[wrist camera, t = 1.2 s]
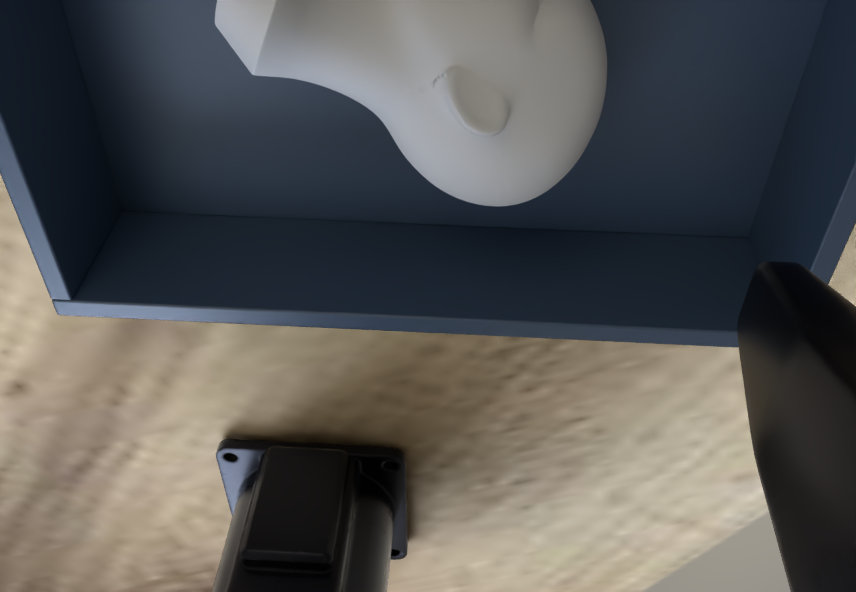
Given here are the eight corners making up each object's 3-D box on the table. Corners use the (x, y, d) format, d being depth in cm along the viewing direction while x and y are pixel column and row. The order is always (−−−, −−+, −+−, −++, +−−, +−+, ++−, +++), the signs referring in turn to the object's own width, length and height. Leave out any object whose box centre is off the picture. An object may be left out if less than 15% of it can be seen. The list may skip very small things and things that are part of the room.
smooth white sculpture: (627, 10, 18) (494, 196, 20) (312, -234, 15) (186, 8, 17) (713, 49, 14) (538, 275, 16) (315, -265, 11) (153, 50, 13)
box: (756, 241, 21) (799, 351, 18) (115, 214, 22) (56, 316, 19) (989, -422, 13) (1141, -417, 10) (-82, -434, 13) (-247, -432, 10)
